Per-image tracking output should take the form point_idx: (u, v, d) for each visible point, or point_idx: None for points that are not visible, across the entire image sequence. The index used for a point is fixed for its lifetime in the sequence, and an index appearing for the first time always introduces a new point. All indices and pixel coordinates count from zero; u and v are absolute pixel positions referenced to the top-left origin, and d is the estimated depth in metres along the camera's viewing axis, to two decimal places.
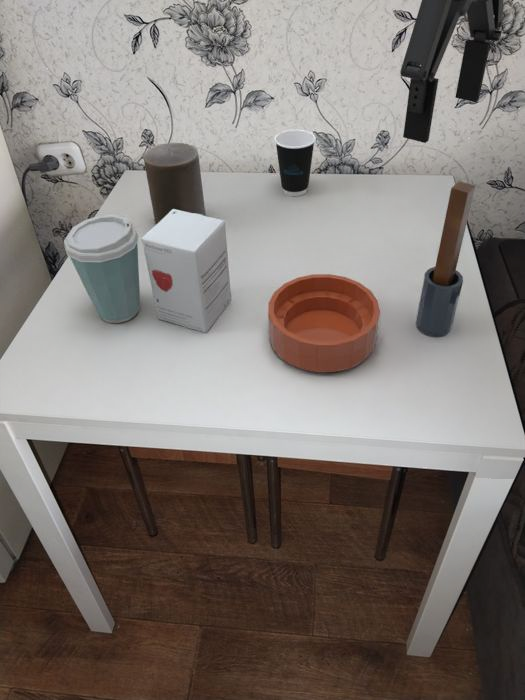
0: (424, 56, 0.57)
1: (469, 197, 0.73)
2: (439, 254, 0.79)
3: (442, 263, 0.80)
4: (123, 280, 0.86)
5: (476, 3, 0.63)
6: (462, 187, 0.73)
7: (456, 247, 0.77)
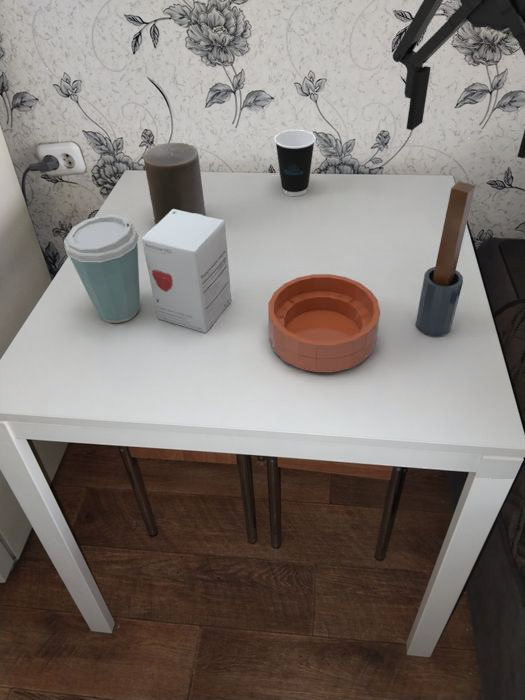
0: None
1: (469, 197, 0.73)
2: (439, 254, 0.79)
3: (442, 263, 0.80)
4: (123, 280, 0.86)
5: (456, 29, 0.63)
6: (462, 187, 0.73)
7: (456, 247, 0.77)
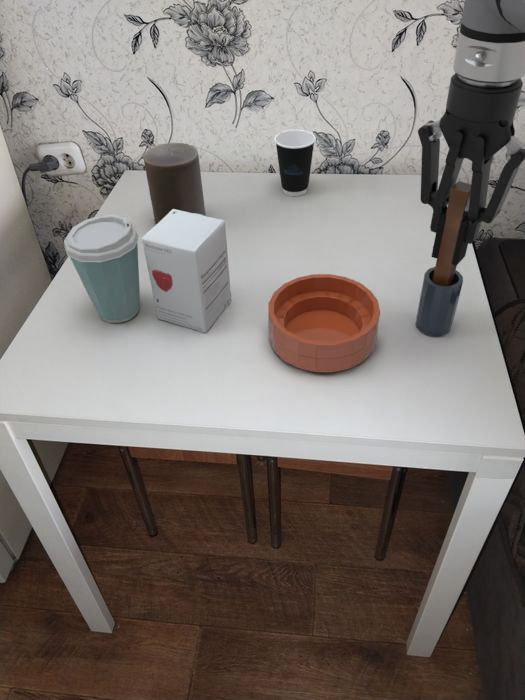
0: (502, 204, 0.72)
1: (469, 197, 0.73)
2: (439, 254, 0.79)
3: (442, 263, 0.80)
4: (123, 280, 0.86)
5: (458, 166, 0.72)
6: (462, 187, 0.73)
7: None
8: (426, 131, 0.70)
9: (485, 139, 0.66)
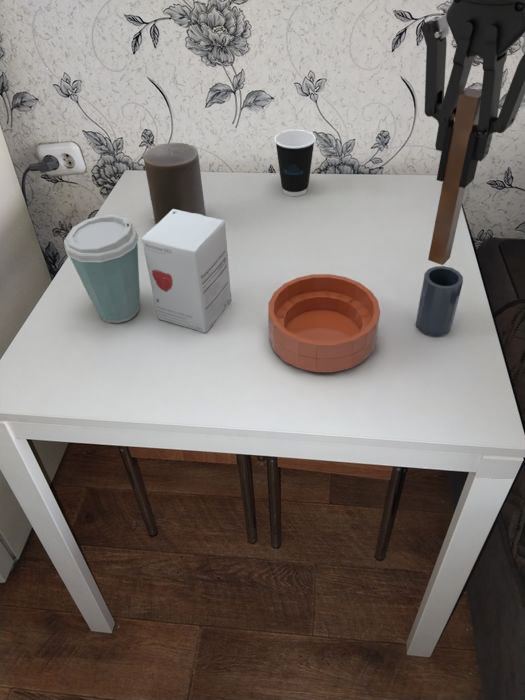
0: (517, 110, 0.64)
1: (479, 105, 0.65)
2: (445, 176, 0.71)
3: (449, 187, 0.72)
4: (123, 280, 0.86)
5: (467, 68, 0.64)
6: (471, 93, 0.65)
7: None
8: (431, 26, 0.62)
9: (498, 28, 0.58)
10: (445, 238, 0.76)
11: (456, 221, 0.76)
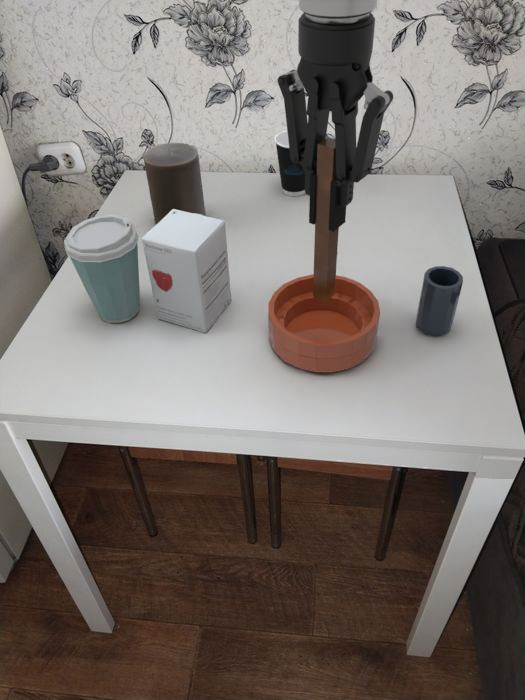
0: (371, 161, 0.66)
1: None
2: (316, 219, 0.73)
3: (320, 230, 0.74)
4: (123, 280, 0.86)
5: (323, 119, 0.66)
6: (329, 143, 0.67)
7: None
8: (285, 80, 0.64)
9: (340, 86, 0.60)
10: (324, 277, 0.78)
11: (334, 260, 0.78)
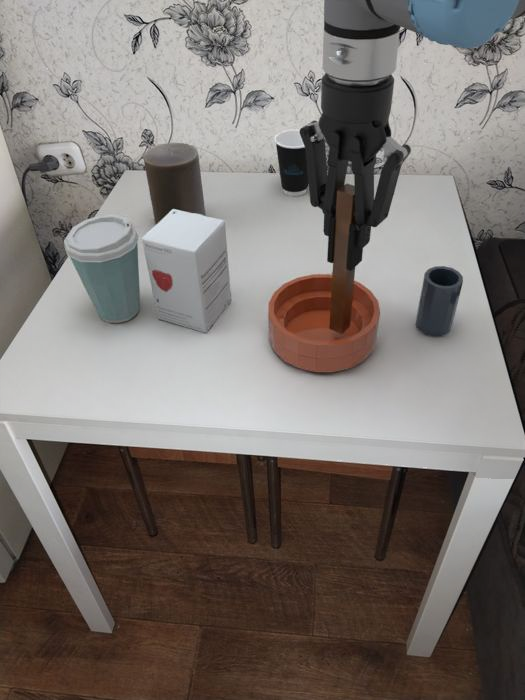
0: (388, 207, 0.69)
1: None
2: (334, 259, 0.77)
3: (338, 268, 0.77)
4: (123, 280, 0.86)
5: (343, 167, 0.69)
6: (348, 190, 0.70)
7: None
8: (307, 132, 0.68)
9: (361, 140, 0.64)
10: (341, 311, 0.82)
11: (350, 296, 0.81)
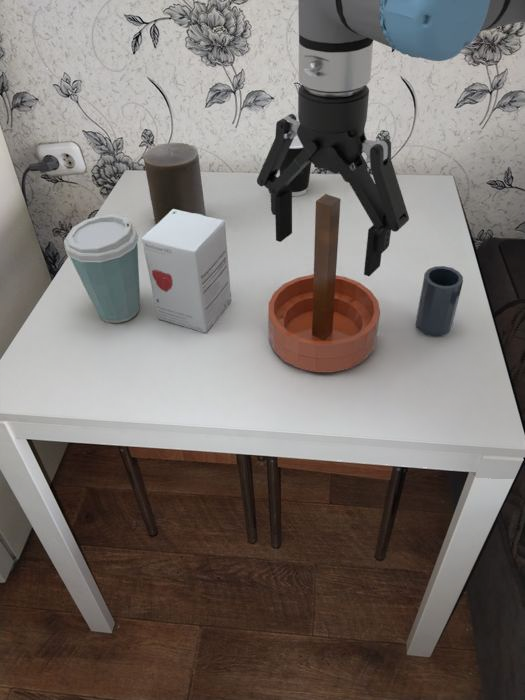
0: (403, 207, 0.67)
1: (334, 210, 0.72)
2: (315, 267, 0.78)
3: (319, 276, 0.79)
4: (123, 280, 0.86)
5: (304, 165, 0.71)
6: (326, 200, 0.72)
7: (329, 260, 0.76)
8: (284, 127, 0.68)
9: (336, 147, 0.65)
10: (322, 318, 0.83)
11: (332, 303, 0.83)
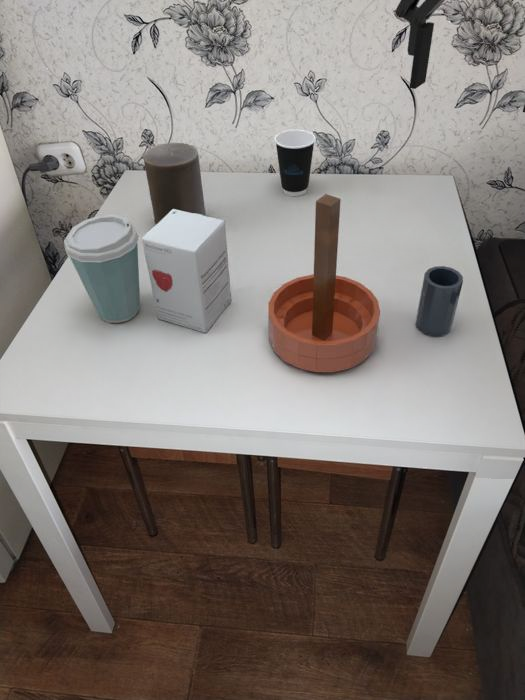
0: None
1: (334, 210, 0.72)
2: (315, 267, 0.78)
3: (319, 276, 0.79)
4: (123, 280, 0.86)
5: None
6: (326, 200, 0.72)
7: (329, 260, 0.76)
8: None
9: None
10: (322, 318, 0.83)
11: (332, 303, 0.83)
